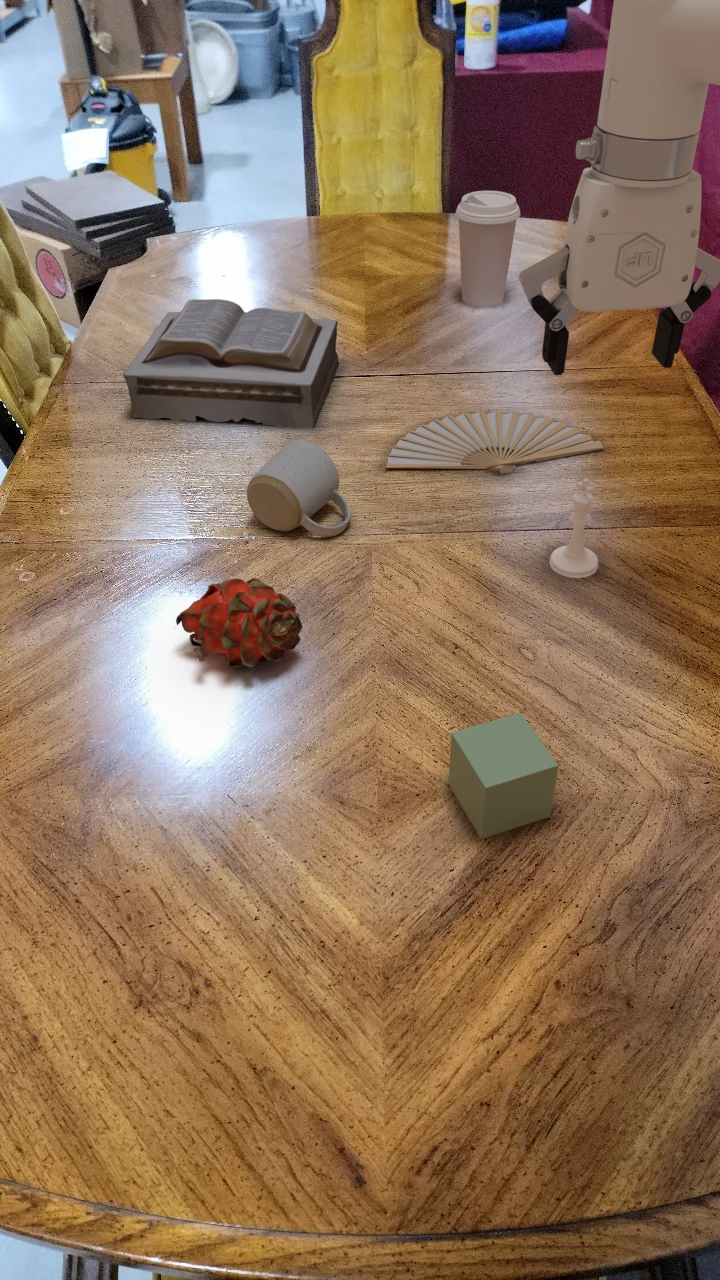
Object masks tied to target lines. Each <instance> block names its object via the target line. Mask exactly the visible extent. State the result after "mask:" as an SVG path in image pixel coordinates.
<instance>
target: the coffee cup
mask: <svg viewBox="0 0 720 1280" xmlns="http://www.w3.org/2000/svg"><path fill="white" fill-rule="evenodd" d="M455 216H456V217H457V219H458V233H459V256H460V257H459V258H460V259H459V260H460V285H461V286H460V287H461V300H462V302H463V303H465V304H466V305H469V306H473V307H477V308H478V307H479V308H488V307H494V306H495V307H496V306H498V305H500V304H501V303H503V302H504V298H505V291H506V286H507V281H508V273H509V268H510V263H511V262H510V261H511V255H512V249H513V245H514V237H515V231H516V225H517V220H518V219H519V218H520V217H521V209H520V206H519V204H518V203H517V198H516V197H515V196H514V195H513V194H512V193H508V192H505V191H499V190H477V191H472V192H468V193H466V194H464V195H462V197H461V200H460V202H459V203H458V204H457V207H456V209H455Z"/></svg>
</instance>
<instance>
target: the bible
mask: <svg viewBox="0 0 720 1280" xmlns="http://www.w3.org/2000/svg"><path fill="white" fill-rule="evenodd" d="M338 324H339V321H338V320H337V319H326V318H313V317H310V315H308V313H307V312H305V311H295V310H285V309H276V308H270V307H255V308H253V309H250V310H248V311H245V310H244V309H243V308H242V307H241V305H239V304H238V303H237V302H234V301H231V300H227V299H222V298H221V299H220V298H210V299H209V298H208V299H207V298H206V299H199V298H196V299H195V298H191V299H188V300H187V301H186V303H185V305H184V306H183V308H182V309H181V310H180V311H168V312H167V313H166V314H165V316H164V317H163V318H162V319H161V320H160V322H159V324H158V325H157V326H156V327H155V329H154V331H153V332H152V334H151V335H150V337H148V340H147V342H145V343H144V345H143V347H142V348H141V349H140V351H139V352H138V353H137V355H136V356H135V358H133V360H132V362H131V363H130V364H129V365H128V368H127V369H126V370H125V372H123V378H124V380H125V383H126V386H127V390H128V395H129V399H130V402H131V412H132V418H133V419H134V418H137V419H139V418H141V419H148V420H159V419H163V418H165V419H169V420H170V421H175V422H182V421H187V422H197V417H199V418H202V419H204V420H206V421H207V422H213V423H225V422H228V421H231V420H232V421H234V422H235V423H237V422H240V421H241V420H242V419H246V420H249V421H254V422H255V423H256V424H259V423H260V424H261V423H262V424H261V425H263V426H274V427H285V428H299V429H300V428H302V429H311V430H312V429H314V427H315V426H316V425H317V421H318V419H319V416H320V413H322V410H323V405H324V404H325V401H326V398H327V396H328V394H330V391H331V389H332V387H331V384H332V383H333V382H334V381H335V377H336V373H337V369H338V367H339V365H340V362H339V354H338V353H337V350H336V345H337V338H338Z"/></svg>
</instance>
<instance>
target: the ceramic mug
mask: <svg viewBox="0 0 720 1280" xmlns="http://www.w3.org/2000/svg"><path fill="white" fill-rule="evenodd" d="M339 487H340V474H339V471H338V469H337V466H336V464H335V462H334V460H333V459H332V457H331V456H330V455H329V454H328V453H327V451H325V450H324V449H322V447H320V445H318V444H316V443H314V442H312V441H309V440H307V439H302V438H299V439H298V438H297V439H292V440H290V441H288V442H286V443H285V444H284V445H283V446H282V447H281V448H280V449H279V450H278V451H276V452H275V454H274V455H273V456H272V457H271V458H270V459H268V461H267V462H266V463H265V464H263V466H262V467H260V469H258V471H256V472H255V474H254V475H253V477H252V478H251V479H250V481H249V483H248V485H247V488H246V499H247V504H248V506H249V508H250V510H251V512H252V513H253V514H254V516H255V517H256V519H257V520H258V521H260V522H261V523H262V524H263V525H264V526H266V527H268V528H269V529H272V530H274V531H278V532H289V531H292V530H294V529H297V528H298V527H300V526H302V527H303V528H304V529H305V530H306V531H308V532H309V533H312V534H314V535H317V536H318V537H326V538H329V537H335V536H338V535H341V533H343V532H344V531H345V530H346V528H347V527H348V524H349V523H350V521H351V518H352V511H351V508H350V505H349V503H348V501H347V500H346V499H345V497H344V496H343V495H342V494H341V493H340V492H339V491H338V490H339ZM329 501H332V502H333V503H334V504H335V506H337V507H338V509H339V510H340V511H341V513H342V515H343V517H344V518H343V519H344V520H343V521H342V522H341V523H340V524H337V525H334V526H325V525H322V524H320V523H318V522H316V521H314V520H313V519H311V517H312V516H313V515H314V514H316V513H317V512H318V511H319V510H321V508H323V507H324V506H325V505H326V504H327V503H328V502H329Z"/></svg>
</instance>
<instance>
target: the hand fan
mask: <svg viewBox="0 0 720 1280" xmlns="http://www.w3.org/2000/svg"><path fill="white" fill-rule="evenodd" d="M391 447H392V449H391V452H390V453H388V454H387V456H388V457H387V463H386V464H385V469H453V470H454V469H457V470H458V469H463V470H465V469H466V470H469V469H470V470H488V471H489V472H491V473H496V472H497V474H500V475H501V474H502V475H503V474H504V475H507V474H510V473H512V472H513V471H515V470H516V468H517V467H516V465H517V464H521V463H527V462H533V461H535V463H536V462H543V461H548V460H549V461H550V460H554V459H559V458H564V457H569V456H575V455H581V454H586V453H590V452H596V451H601V450H603V449H604V448H605V447H604V445H603V443H602V442H601V440H600V439H598V440H595V441H594V439H593V437H592V436H591V434H590V433H588V434H585V433H581V430H580V429H579V428H578V427H577V426H576V427H570V426H569V427H568V424H567V423H565V421H561V422H560V421H554V420H553V419H552V418H550V417H548V416H546V417H537V415H535V414H533V413H529V414H520V413H519V412H516V411H513V412H512V411H511V412H509V413H508V412H507V413H503V411H501V410H495V411H493V412H489V413H487V412H486V411H482V410H478V412H474V413H472V414H471V413H470V412H463V413H461V414H459V415H457V416H455V415H449V414H447V416H446V417H444V418H442V419H438V418H433V420H432V421H431V422H429V423H428V424H425V423H423V424H420V425H419V426H418V427H417V428H416V429H415V430H408V433H406V435H405V436H403V437H402V436H401V437H399V440H398V441H397V444H396V445H395V444H394V445H392V446H391Z"/></svg>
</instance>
